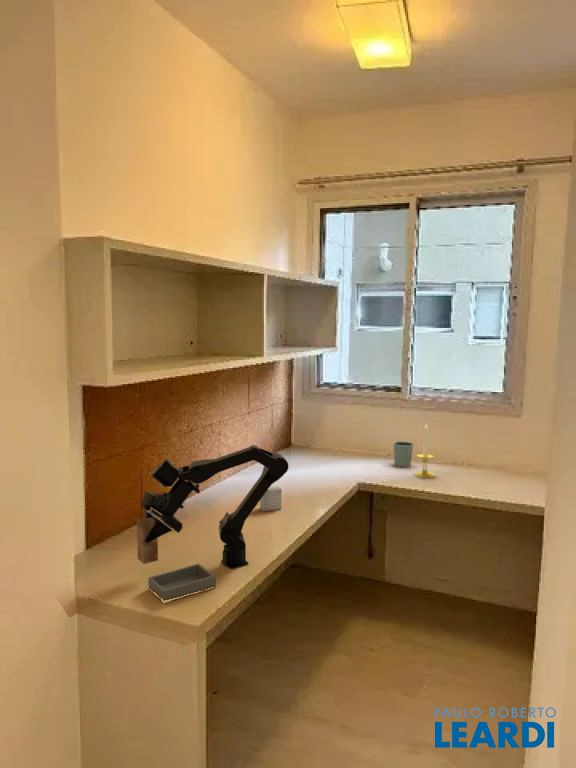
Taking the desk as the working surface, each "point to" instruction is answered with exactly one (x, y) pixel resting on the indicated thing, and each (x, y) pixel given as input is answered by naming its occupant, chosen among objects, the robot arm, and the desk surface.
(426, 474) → the candle
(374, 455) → the desk surface
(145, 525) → the walnut block
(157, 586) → the tray
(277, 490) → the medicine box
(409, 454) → the green cup
